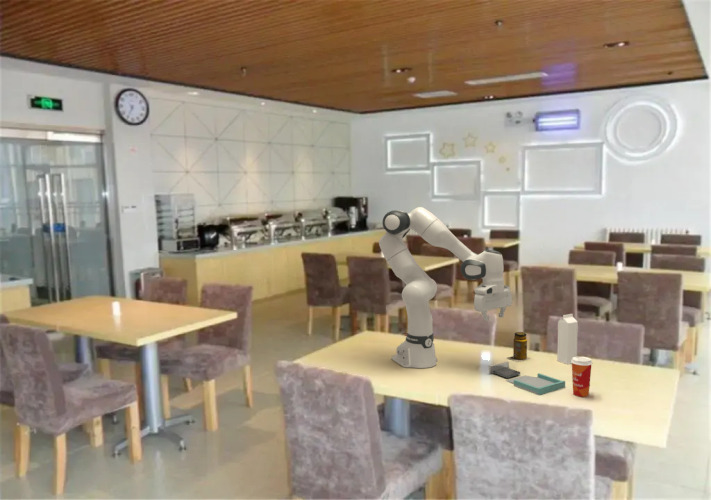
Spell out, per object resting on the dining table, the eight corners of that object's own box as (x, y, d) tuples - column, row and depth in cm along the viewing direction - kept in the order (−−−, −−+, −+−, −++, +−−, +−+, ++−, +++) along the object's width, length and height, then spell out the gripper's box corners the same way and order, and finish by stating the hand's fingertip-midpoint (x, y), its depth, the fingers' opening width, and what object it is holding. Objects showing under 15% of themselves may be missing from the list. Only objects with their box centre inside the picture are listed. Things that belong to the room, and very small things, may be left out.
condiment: (530, 358, 271) (531, 333, 270) (518, 362, 266) (518, 336, 265) (518, 355, 277) (518, 330, 276) (506, 358, 272) (506, 333, 271)
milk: (557, 361, 267) (557, 313, 264) (566, 359, 269) (567, 312, 267) (567, 364, 261) (568, 316, 259) (577, 362, 264) (577, 314, 262)
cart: (488, 374, 250) (488, 366, 250) (506, 369, 256) (507, 361, 255) (504, 379, 242) (504, 371, 242) (522, 375, 248) (522, 366, 248)
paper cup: (566, 391, 228) (567, 356, 226) (585, 390, 229) (586, 355, 227) (575, 398, 220) (576, 362, 219) (595, 397, 221) (596, 361, 219)
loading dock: (502, 383, 241) (502, 375, 240) (527, 376, 249) (527, 368, 248) (539, 397, 225) (539, 388, 224) (565, 389, 232) (565, 381, 232)
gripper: (504, 283, 261) (504, 314, 262) (471, 289, 249) (472, 321, 251) (515, 285, 255) (515, 316, 257) (482, 291, 244) (482, 323, 245)
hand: (493, 318), depth 254 cm, fingers open, 8 cm apart
